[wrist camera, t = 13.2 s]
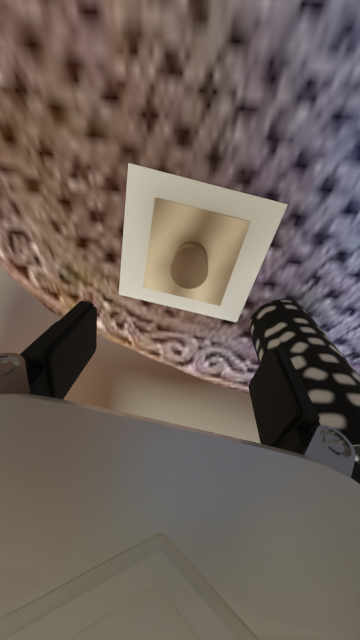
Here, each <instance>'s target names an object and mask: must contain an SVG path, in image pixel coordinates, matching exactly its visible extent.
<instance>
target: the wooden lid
mask: <svg viewBox="0 0 360 640" xmlns="http://www.w3.org/2000/svg"><path fill="white" fill-rule="evenodd" d="M249 225H250V221H247V220H243V219H239V218H235V217H231V216H227V215H223V214H219V213H215V212H211V211H208V210H204V209H200V208H196V207H192V206H188V205H184V204H180V203H176V202H172V201H168V200H164V199H160V198H155V202H154V209H153V217H152V224H151V231H150V239H149V246H148V254H147V261H146V268H145V276H144V283H143V288H147V289H151V290H155V291H159V292H163V293H168V294H172V295H176V296H180V297H184V298H188V299H193V300H197V301H201V302H205V303H209V304H214V305H218V306H220V305H221V302H222V300H223V297H224V294H225V291H226V289H227V286H228V283H229V280H230V278H231V275H232V272H233V269H234V267H235V264H236V261H237V258H238V256H239V253H240V250H241V247H242V245H243V242H244V239H245V236H246V233H247V231H248V228H249Z"/></svg>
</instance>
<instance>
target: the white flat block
mask: <svg viewBox="0 0 360 640" xmlns="http://www.w3.org/2000/svg"><path fill="white" fill-rule="evenodd" d="M155 198H160V199H164V200H168V201H172V202H176V203H180V204H184V205H188V206H192V207H196V208H200V209H204V210H208V211H211V212H215V213H219V214H223V215H227V216H231V217H235V218H239V219H243V220H247V221H250V225H249V228H248V231H247V233H246V236H245V239H244V242H243V245H242V247H241V250H240V253H239V256H238V258H237V261H236V264H235V267H234V269H233V272H232V275H231V278H230V280H229V283H228V286H227V289H226V291H225V294H224V297H223V300H222V302H221V305H220V306H218V305H214V304H209V303H205V302H201V301H197V300H193V299H188V298H184V297H180V296H176V295H172V294H168V293H163V292H159V291H155V290H151V289H147V288H143V283H144V276H145V268H146V261H147V254H148V246H149V239H150V231H151V224H152V217H153V209H154V202H155ZM287 205H288V204H284V203H280V202H276V201H273V200H269V199H265V198H261V197H257V196H253V195H250V194H246V193H242V192H238V191H234V190H230V189H227V188H223V187H219V186H215V185H211V184H207V183H204V182H200V181H196V180H192V179H188V178H184V177H181V176H177V175H173V174H169V173H165V172H161V171H158V170H154V169H150V168H146V167H142V166H138V165H135V164H131V163H128V175H127V189H126V203H125V217H124V230H123V244H122V258H121V272H120V285H119V295H124V296H128V297H132V298H136V299H140V300H145V301H149V302H153V303H157V304H161V305H166V306H170V307H174V308H178V309H182V310H187V311H191V312H195V313H199V314H203V315H208V316H212V317H216V318H220V319H224V320H228V321H233V322H237V321H238V319H239V316H240V314H241V312H242V309H243V307H244V305H245V302H246V300H247V298H248V295H249V293H250V291H251V289H252V286H253V284H254V282H255V279H256V277H257V275H258V272H259V270H260V268H261V265H262V263H263V261H264V258H265V256H266V254H267V252H268V249H269V247H270V245H271V242H272V240H273V238H274V235H275V233H276V231H277V228H278V226H279V224H280V221H281V219H282V217H283V214H284V212H285V210H286V208H287Z"/></svg>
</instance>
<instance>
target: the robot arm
mask: <svg viewBox="0 0 360 640" xmlns="http://www.w3.org/2000/svg"><path fill="white" fill-rule="evenodd" d="M96 333H97V308H96V307H94V305H93V304H92V303H88V302H84V301H80V302H79V303H78V304H77V305H76V306H75V307H74V308H73V309H71V310H70V311H69V312H68V313H67V314H66V315H65V316H64V317H63V318H62V319H60V321H58V322H56V323H54V324H53V325H52V326H51V327H50V328H49V329H48V330H47V331H45V332H44V333H43V334H42V335H41V336H40V337H39V338H38V339H36V340H35V341H34V342H33V343H32V344H31V345H30V346H29V347H28V348H27V349H25V350H24V351H23V352H22V353H21V354H20V355H19V354H16V353H1V354H0V640H360V464H359V463H357V462H356V461H355V458H356V453H355V450H354V447H353V446H352V444H351V443H350V441H349V440H348V439H347V438H346V437H345V436H344V435H343V434H342V433H341V432H340V431H338V430H336V429H335V428H333V427H331V426H328V425H321V424H320V422H319V419H320V417H319V415H318V413H317V411H316V409H315V407H314V405H313V403H312V401H311V399H310V397H309V395H308V393H307V391H306V389H305V387H304V385H303V383H302V381H301V379H300V377H299V375H298V373H297V371H296V369H295V367H294V365H293V363H292V361H291V359H290V357H289V355H288V353H287V351H286V350H284V349H280V348H276V347H275V348H273V349H270V350H269V351H268V352H267V354H266V356H265V357H264V359H263V361H262V363H261V364H260V366H259V368H258V369H257V371H256V373H255V375H254V376H253V378H252V380H251V381H250V384H249V391H250V396H251V400H252V405H253V410H254V414H255V419H256V424H257V428H258V433H259V438H260V442H261V444H259V443H256V442H251V441H247V440H242V439H238V438H234V437H230V436H225V435H221V434H217V433H213V432H208V431H204V430H199V429H195V428H191V427H186V426H182V425H177V424H173V423H169V422H164V421H160V420H155V419H150V418H146V417H142V416H137V415H133V414H128V413H124V412H119V411H115V410H110V409H106V408H101V407H97V406H92V405H87V404H83V403H78V402H73V401H68V400H63V399H64V397H65V396H66V394H67V392H68V391H69V390H70V388H71V387H72V385H73V384H74V382H75V381H76V379H77V378H78V376H79V375H80V373H81V372H82V370H83V369H84V367H85V366H86V364H87V363H88V361H89V360H90V358H91V357H92V356H93V354H94V352H95V350H96Z"/></svg>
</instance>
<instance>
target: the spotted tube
mask: <svg viewBox="0 0 360 640" xmlns="http://www.w3.org/2000/svg"><path fill="white" fill-rule="evenodd" d="M249 332H250V335H251V338H252V342H253V345H254V348H255V351H256V354H257V357H258V360H259V363H260V364H261V363H262V361H263V359H264V357H265V356H266V354H267V352H268V351H269V350H270V349H273V348H275V347H276V348H280V349H284V350H286V351H287V353H288V355H289V357H290V359H291V361H292V363H293V365H294V367H295V369H296V371H297V373H298V375H299V377H300V379H301V381H302V383H303V385H304V387H305V389H306V391H307V393H308V395H309V397H310V399H311V401H312V403H313V405H314V407H315V409H316V411H317V413H318V415H319V417H320V419H319V422H320V424H321V425H328V426H331V427H333V428H335V429H336V430H338V431H340V432H341V433H342V434H343V435H344V436H345V437H346V438H347V439H348V440H349V441H350V443H351V444H352V446H353V447H354V450H355V453H356V458H355V461H356V462H357V463H359V464H360V375H359V374H358V373H357V372H356V370H355V369H354V368H353V367H352V366H351V364H350V363H349V362H348V361H347V360H346V359H345V357H344V356H343V355H342V354H341V353H340V351H339V350H338V349H337V348H336V347H335V345H334V344H333V343H332V342H331V341H330V339H329V338H328V337H327V336H326V335H325V333H324V332H323V331H322V330H321V329H320V327H319V326H318V325H317V324H316V323H315V322H314V320H313V319H312V318H311V317H310V316H309V314H308V313H307V312H306V311H305V310H304V308H303V307H302V306H301V305H299V304H298V303H296V302H293V301H289V300H277V301H272V302H269V303H267V304H265V305H263V306H262V307H260V308H259V309H258V310H257V311H256V312H255V313H254V314H253V316H252V317H251V319H250V322H249Z"/></svg>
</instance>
